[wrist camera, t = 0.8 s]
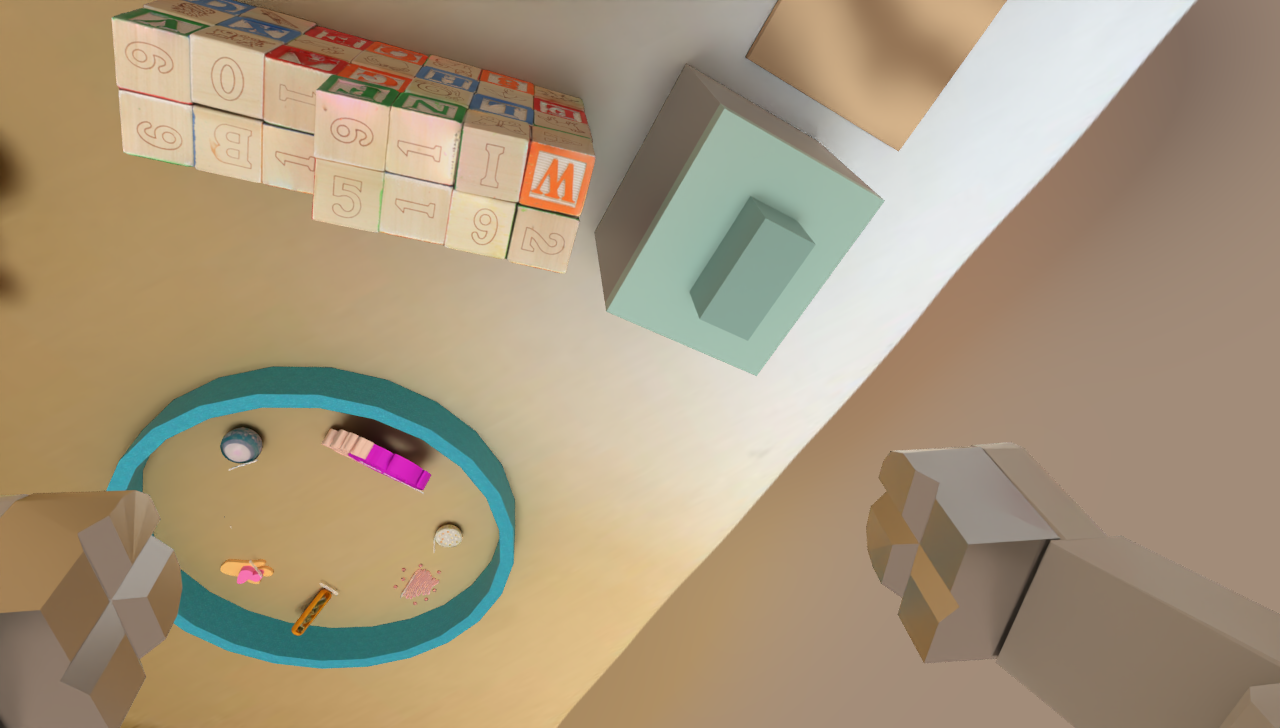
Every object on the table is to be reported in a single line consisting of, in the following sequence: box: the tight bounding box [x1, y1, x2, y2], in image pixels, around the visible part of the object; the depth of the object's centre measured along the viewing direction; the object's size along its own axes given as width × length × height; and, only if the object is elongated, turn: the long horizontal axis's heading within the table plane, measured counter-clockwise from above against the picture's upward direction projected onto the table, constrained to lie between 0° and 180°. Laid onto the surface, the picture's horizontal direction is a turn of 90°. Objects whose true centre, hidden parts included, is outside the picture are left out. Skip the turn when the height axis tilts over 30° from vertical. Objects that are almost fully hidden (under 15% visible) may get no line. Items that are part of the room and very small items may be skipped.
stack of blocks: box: [112, 0, 596, 273], centre depth 37 cm, size 21×6×12 cm, turn 73°
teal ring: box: [106, 367, 515, 668], centre depth 57 cm, size 30×30×6 cm
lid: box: [605, 103, 884, 376], centre depth 38 cm, size 12×10×5 cm
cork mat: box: [746, 0, 1007, 151], centre depth 42 cm, size 12×12×1 cm
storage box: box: [595, 64, 877, 302], centre depth 43 cm, size 12×10×10 cm
